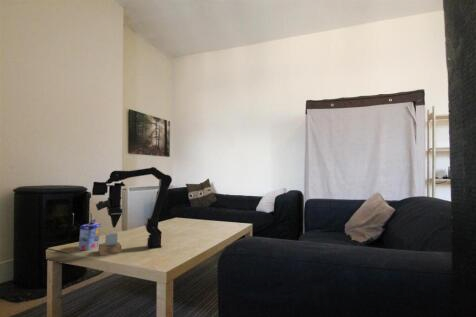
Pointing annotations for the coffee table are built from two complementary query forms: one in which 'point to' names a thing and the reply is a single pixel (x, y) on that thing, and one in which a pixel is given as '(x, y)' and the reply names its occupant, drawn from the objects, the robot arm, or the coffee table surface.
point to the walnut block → (109, 249)
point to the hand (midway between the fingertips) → (113, 226)
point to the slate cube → (111, 239)
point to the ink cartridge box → (89, 235)
